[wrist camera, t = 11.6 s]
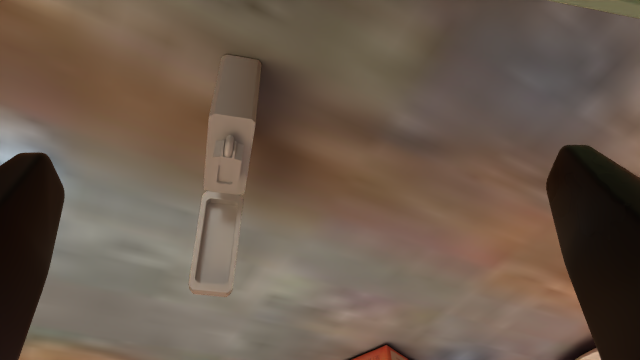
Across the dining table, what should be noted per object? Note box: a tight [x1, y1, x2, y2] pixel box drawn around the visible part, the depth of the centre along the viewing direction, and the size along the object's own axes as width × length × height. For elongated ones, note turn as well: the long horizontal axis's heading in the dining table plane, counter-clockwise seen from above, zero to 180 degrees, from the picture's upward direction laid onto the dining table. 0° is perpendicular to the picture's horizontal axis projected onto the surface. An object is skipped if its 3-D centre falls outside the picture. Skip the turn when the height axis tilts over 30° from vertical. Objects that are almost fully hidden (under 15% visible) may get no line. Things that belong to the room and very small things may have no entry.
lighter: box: [189, 54, 262, 297], centre depth 21 cm, size 7×2×8 cm, turn 168°
